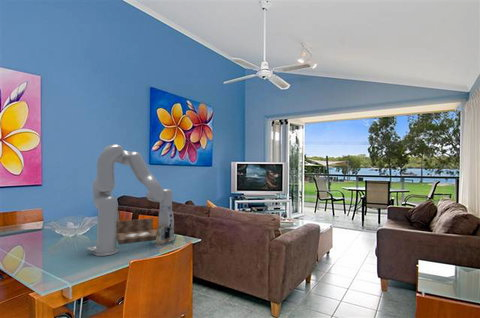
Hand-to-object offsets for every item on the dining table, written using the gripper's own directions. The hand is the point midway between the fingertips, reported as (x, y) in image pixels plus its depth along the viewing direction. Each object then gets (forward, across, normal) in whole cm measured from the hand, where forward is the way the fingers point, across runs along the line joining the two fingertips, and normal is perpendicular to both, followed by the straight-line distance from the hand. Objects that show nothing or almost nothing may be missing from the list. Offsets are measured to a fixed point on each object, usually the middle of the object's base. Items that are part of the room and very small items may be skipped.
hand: (165, 237), depth 170 cm
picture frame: (+3, 0, 0) cm, 3 cm away
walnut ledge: (+3, +22, +5) cm, 23 cm away
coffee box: (+3, +46, +9) cm, 47 cm away
